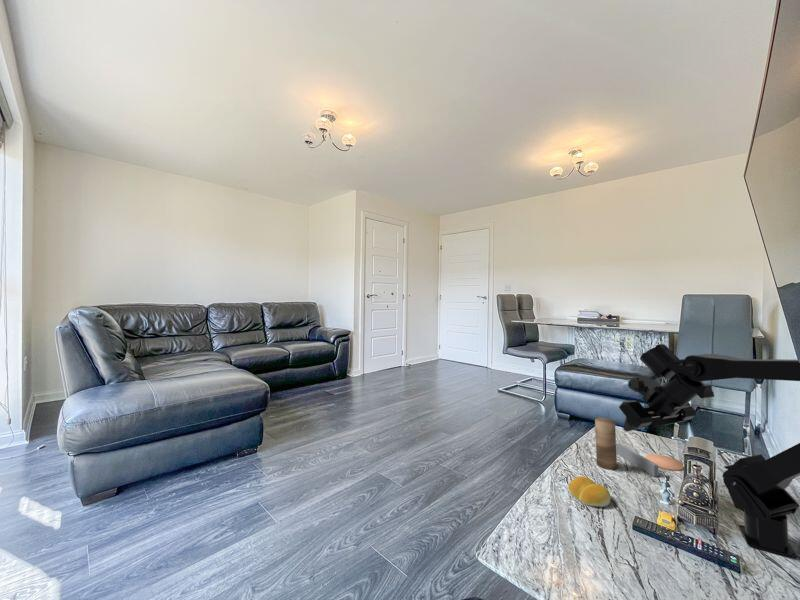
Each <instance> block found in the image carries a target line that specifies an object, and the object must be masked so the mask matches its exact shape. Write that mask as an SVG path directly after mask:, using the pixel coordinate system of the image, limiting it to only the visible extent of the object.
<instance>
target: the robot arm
mask: <svg viewBox="0 0 800 600" xmlns="http://www.w3.org/2000/svg"><path fill="white" fill-rule="evenodd" d="M639 360H640V361H641V362H642V363H643V364H644V365H645V367H647V368H648V369H649V370H650V372H652V374H654V375H655V376H656V378H659V379H661V378H664V379H665V380H667V379H668V380H667V381H666V382H665V383H664V384H663V385H662V384H661V383H659V382H657V381H655V380H654V379H652V378H651V377H648V376H645V375H642V376H641V375H640V376H634V377H632V378H630V380H628V381H627V386H628V388H629V389H630V390H632V391H633V392H635V393H638V394H640V395H642V396H643V397H642V398H641V399H642V400H643V401H644V402H645V403H647V407H644V406H643V404H642V403H641V402H640V401H639V400H634V399H632V400H624V401H622V403H620V404H619V405H618V408H619V409H620V411H621V412H622V413H623V415H624V416H625V420H624V423H623V427H622V429H623V430H624V432H626V433H627V432H631V431H634V430H636V431H637V430H638V429H639V430H640V429H644V428H647V427H648V426H649V425H650V427H651V428H657V427H662V426H667V425H670V424H676V423H682V422H686V421H689V420H692V419H693V418H695V417H696V416H697V414H696V413H697V412H696V410H695V408H693V406H692V405H691V403H690V402H691V401H692V400H694V399H695V398H696V397H699V398H700V399H703V400H704V399H709V398H714V397H715V393H714V391H713V387H712V385H710V384H709V385H708V384H705V382H709V381H710V382H711V381H718V380H725V379H726V380H729V379H750V380H755V379H756V380H769V381H770V380H771V381H788V382H789V381H790V382H800V363H799V361H800V359H787V358H786V359H781V358H780V359H779V358H777V359H775V358H774V359H772V358H771V359H769V358H767V359H765V358H763V359H762V358H759V359H758V358H753V359H752V358H749V359H748V358H739V357H734V356H730V355H726V354H718V353H705V354H703V353H702V354H693V355H687V356H686V357H685V358H681V359H680V358H679V357H678V356H677V355H676V354H674V353H673V352H672V351H671V350H670V348H669V347H668V346H667V345H666V344H664V343H661V344H660V343H659V344H656V346H654V347H653V348H651V349H649V350H647V351H646V352H643V353H642V354H641V355H640V357H639ZM724 469H726V470H725V471H724V472H723V473H722V475H721V477H722V479H723V483H724V486H725V487H726V489H727V491H728V494H729V495H730V499H731V500H732V503H733V505H734V507H735V508H736V509H737V510H740V511H742V512H743V521H744V522H743V523H744V525H741V524H739V525H738V529H739V531H740V533H741V536H742V537H743V539H744V541H745V543H746V544H747V545H748V546H749V547H752V548H756V549H759V550H763V551H766V552H769V553H770V552H771V553H773V554H777V555H781V556H784V557H788V556H789V558H792V557H793V558H792V559H798V554H797V552H795V550H794V548H793V546H791V544H790V543H789V532H788V531H789V529H788V516H787V515H790V514H796V513H797V511H798V509H799V508H800V504H799V503H798V502H797V501H796V499H794V498H793V497H792V496H791V494H790V493H788V491H787V490H786V489H787V487H789V485H790V484H791V483H792V481H793V480H794V479H796V478H797V477H799V476H800V442H798V443H796V444H795V445H793V446H791V447H789V448H787V449H785V450H783V451H781V452H779V453H777V454H775V455H773V456H771V457H768V458H767V459H766V458H765V457H764V456H763V455H762V454H761V453H760V454H757V455H751V456H747V457H746V456H745V457H741V458H739V459H737V460H736V461H735V462H734V463H733V464H730V465H726V466H724Z"/></svg>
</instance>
